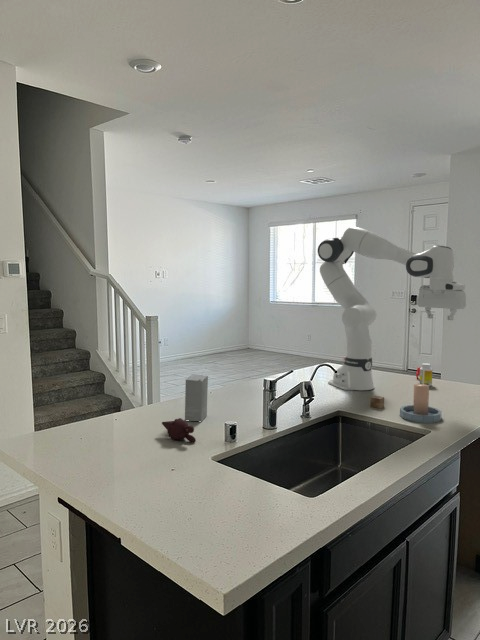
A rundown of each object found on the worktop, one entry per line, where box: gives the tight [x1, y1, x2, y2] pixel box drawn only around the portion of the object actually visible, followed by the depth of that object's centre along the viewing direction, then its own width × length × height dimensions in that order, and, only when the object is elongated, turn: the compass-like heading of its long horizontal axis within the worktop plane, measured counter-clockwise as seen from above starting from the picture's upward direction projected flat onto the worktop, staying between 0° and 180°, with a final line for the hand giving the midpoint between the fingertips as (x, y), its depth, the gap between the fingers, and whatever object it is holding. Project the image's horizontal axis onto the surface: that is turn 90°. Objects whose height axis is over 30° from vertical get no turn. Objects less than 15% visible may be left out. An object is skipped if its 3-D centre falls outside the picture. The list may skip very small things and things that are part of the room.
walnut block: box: [370, 395, 385, 410], centre depth 187 cm, size 4×4×4 cm
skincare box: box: [184, 373, 209, 422], centre depth 172 cm, size 8×7×16 cm
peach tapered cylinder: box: [412, 383, 430, 415], centre depth 173 cm, size 5×5×11 cm
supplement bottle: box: [419, 362, 433, 387], centre depth 224 cm, size 6×6×10 cm
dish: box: [399, 404, 443, 424], centre depth 174 cm, size 14×14×2 cm
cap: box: [415, 366, 422, 380], centre depth 237 cm, size 8×6×6 cm
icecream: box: [161, 417, 196, 444], centre depth 151 cm, size 7×7×15 cm
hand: (440, 319), depth 193 cm, fingers open, 8 cm apart
